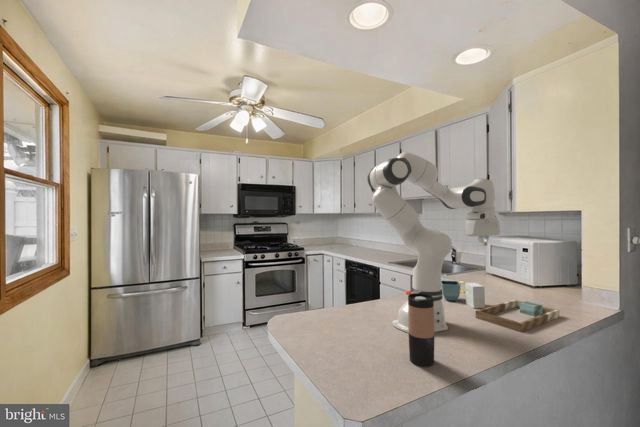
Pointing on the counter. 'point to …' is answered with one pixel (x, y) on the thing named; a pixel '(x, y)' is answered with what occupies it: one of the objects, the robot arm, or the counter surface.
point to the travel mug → (421, 329)
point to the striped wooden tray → (522, 326)
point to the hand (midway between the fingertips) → (483, 245)
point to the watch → (463, 283)
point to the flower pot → (450, 290)
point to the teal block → (531, 308)
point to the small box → (475, 295)
